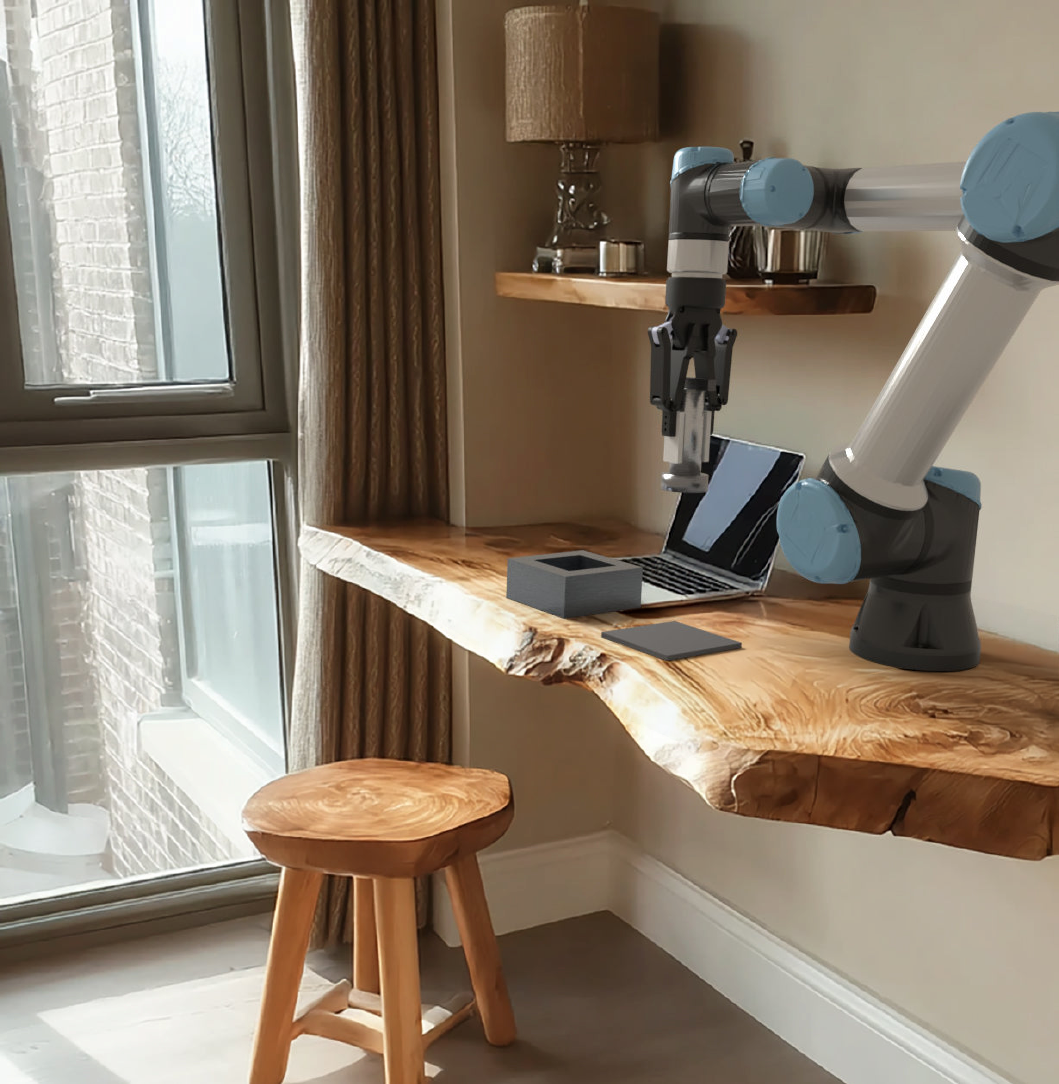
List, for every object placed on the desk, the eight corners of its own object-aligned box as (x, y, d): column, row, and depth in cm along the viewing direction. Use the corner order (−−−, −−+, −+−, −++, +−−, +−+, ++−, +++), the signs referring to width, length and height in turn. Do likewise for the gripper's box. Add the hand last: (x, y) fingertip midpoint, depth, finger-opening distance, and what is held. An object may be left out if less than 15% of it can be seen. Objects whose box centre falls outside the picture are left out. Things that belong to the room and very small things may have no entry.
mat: (741, 647, 156) (741, 642, 156) (666, 660, 149) (667, 655, 149) (674, 625, 165) (674, 620, 165) (601, 636, 158) (601, 632, 158)
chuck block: (640, 607, 174) (642, 567, 173) (563, 618, 167) (565, 576, 166) (581, 588, 184) (582, 550, 183) (506, 597, 177) (507, 558, 176)
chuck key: (722, 492, 166) (729, 379, 163) (688, 495, 163) (694, 379, 160) (680, 484, 172) (686, 375, 170) (646, 486, 169) (651, 375, 166)
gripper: (724, 278, 170) (713, 455, 175) (625, 273, 161) (616, 460, 165) (766, 279, 164) (753, 462, 169) (665, 273, 155) (655, 468, 159)
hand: (686, 461), depth 167 cm, fingers closed on chuck key, 4 cm apart
